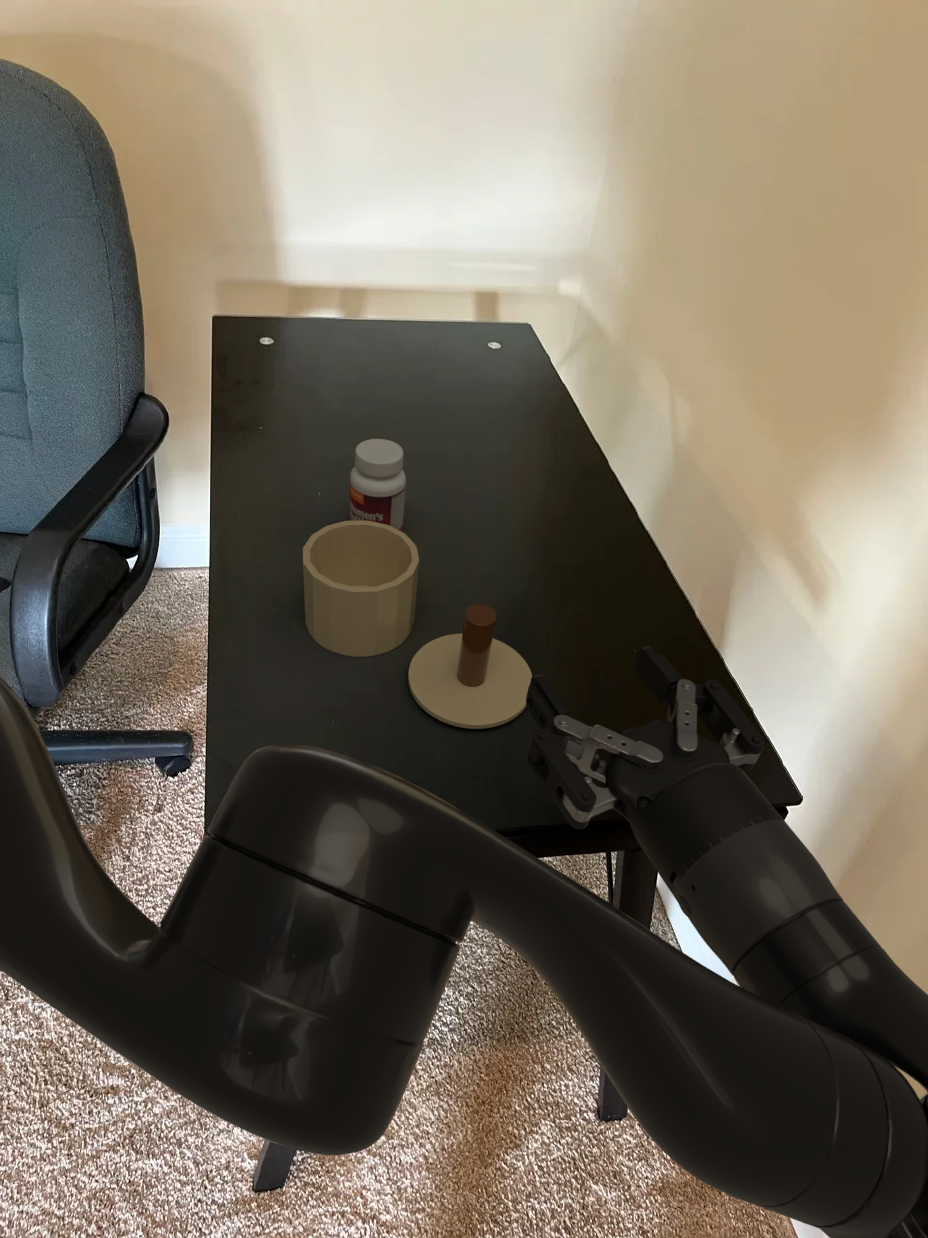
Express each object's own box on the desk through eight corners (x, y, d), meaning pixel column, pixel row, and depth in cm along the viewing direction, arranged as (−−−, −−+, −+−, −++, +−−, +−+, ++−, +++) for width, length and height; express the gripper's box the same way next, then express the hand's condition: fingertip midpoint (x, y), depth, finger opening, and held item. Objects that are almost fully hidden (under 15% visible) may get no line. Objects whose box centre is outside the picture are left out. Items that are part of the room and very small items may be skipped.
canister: (365, 673, 79) (367, 608, 74) (282, 621, 83) (278, 555, 78) (434, 616, 86) (441, 552, 81) (354, 571, 91) (355, 507, 85)
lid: (485, 754, 74) (498, 684, 67) (381, 689, 78) (385, 617, 72) (554, 680, 81) (572, 611, 75) (456, 625, 86) (465, 555, 80)
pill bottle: (339, 542, 94) (339, 455, 86) (363, 514, 98) (365, 430, 91) (388, 558, 93) (393, 472, 85) (410, 529, 97) (416, 445, 90)
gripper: (856, 790, 46) (687, 607, 57) (646, 872, 41) (503, 653, 52) (806, 863, 51) (659, 682, 62) (612, 943, 46) (488, 731, 57)
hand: (588, 669), depth 57 cm, fingers open, 8 cm apart
